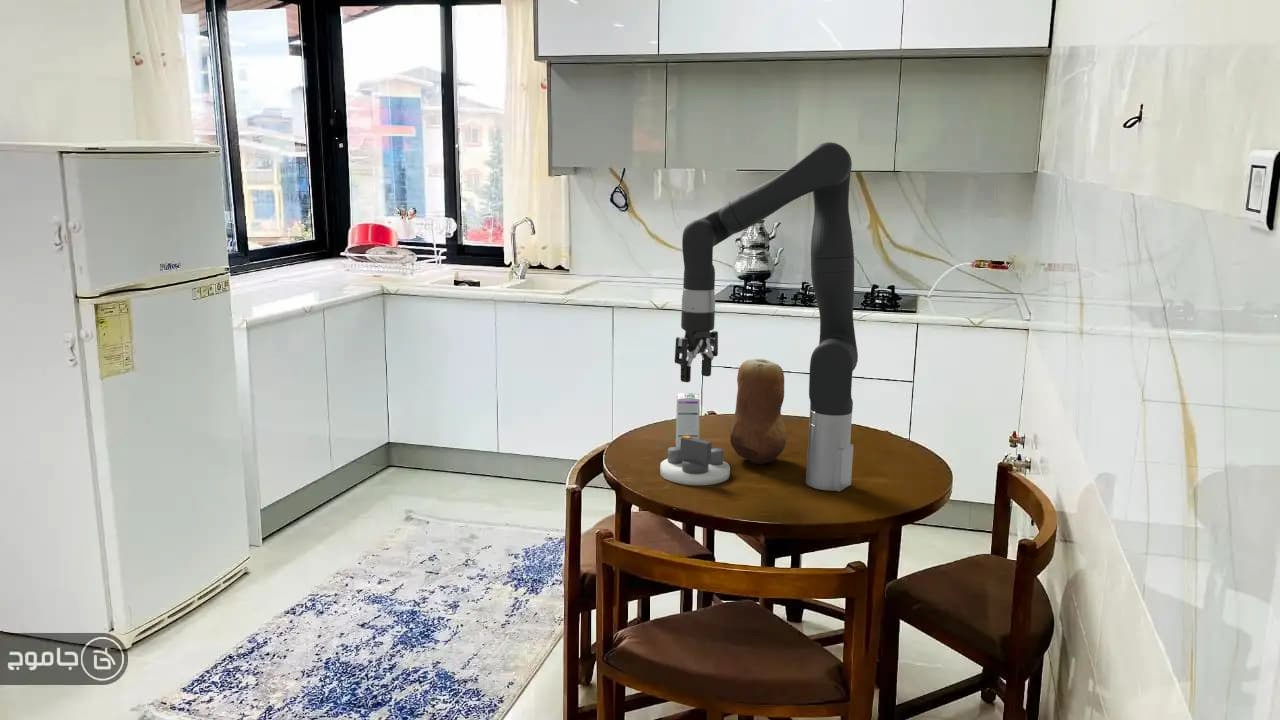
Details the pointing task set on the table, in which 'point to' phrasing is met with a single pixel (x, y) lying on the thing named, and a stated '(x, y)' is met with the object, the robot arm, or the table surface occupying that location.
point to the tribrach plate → (715, 474)
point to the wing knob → (695, 455)
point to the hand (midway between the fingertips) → (696, 378)
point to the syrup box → (687, 416)
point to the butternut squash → (759, 412)
